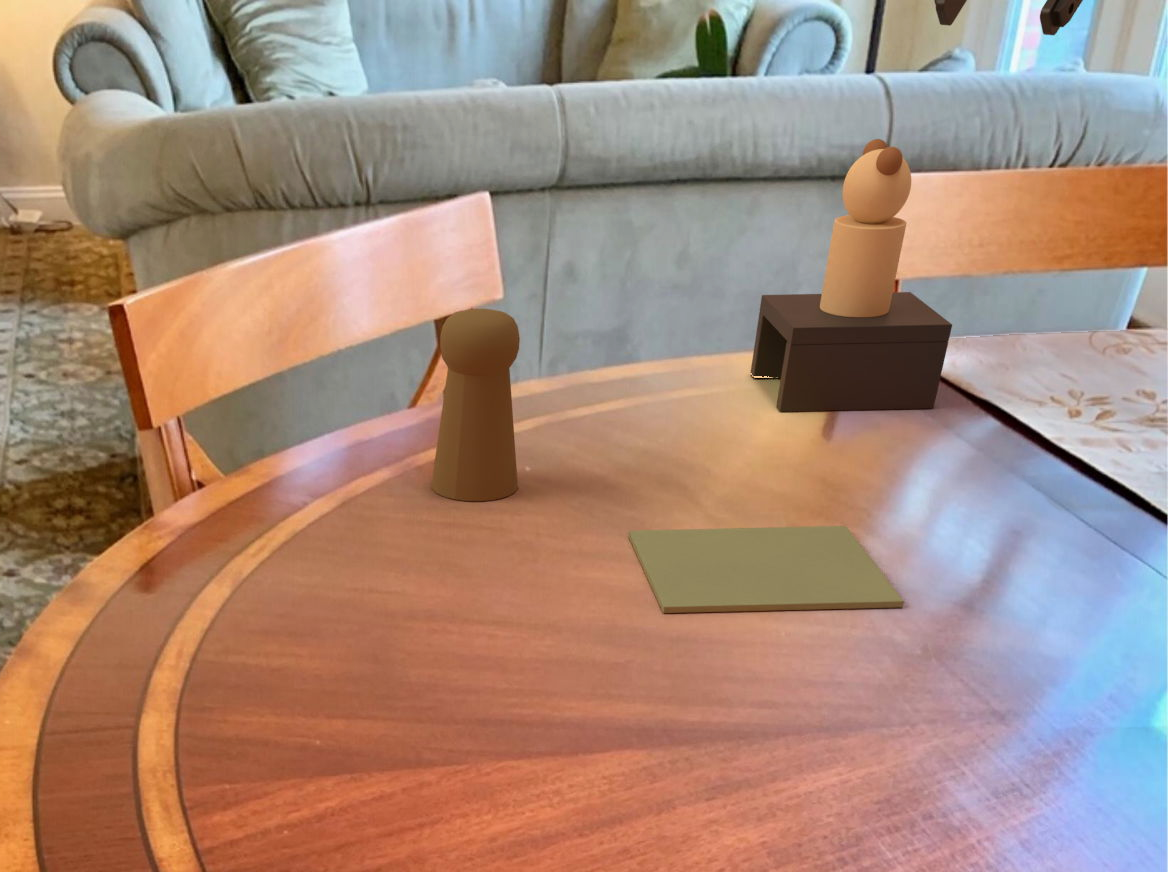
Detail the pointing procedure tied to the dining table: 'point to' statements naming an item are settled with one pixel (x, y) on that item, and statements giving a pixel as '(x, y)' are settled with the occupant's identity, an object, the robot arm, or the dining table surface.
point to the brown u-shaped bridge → (850, 354)
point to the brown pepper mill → (477, 407)
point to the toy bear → (867, 235)
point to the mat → (761, 569)
